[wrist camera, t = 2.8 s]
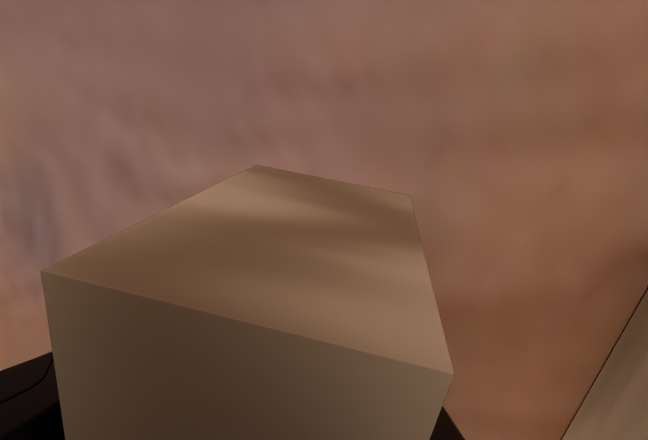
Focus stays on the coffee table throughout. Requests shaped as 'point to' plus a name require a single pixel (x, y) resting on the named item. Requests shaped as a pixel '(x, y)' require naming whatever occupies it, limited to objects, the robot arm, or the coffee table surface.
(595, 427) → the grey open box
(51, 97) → the coffee table surface
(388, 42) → the coffee table surface
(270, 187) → the wooden block
